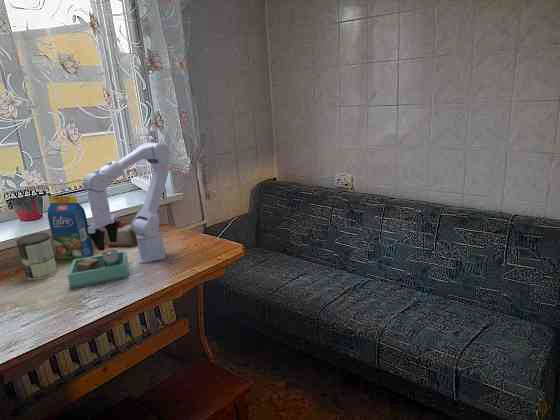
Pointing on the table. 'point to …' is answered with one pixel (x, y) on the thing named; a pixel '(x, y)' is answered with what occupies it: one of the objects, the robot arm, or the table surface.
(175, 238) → the table surface
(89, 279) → the tote
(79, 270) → the walnut cube
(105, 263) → the metal cylinder
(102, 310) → the table surface
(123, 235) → the food item
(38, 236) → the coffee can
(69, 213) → the blue food package
